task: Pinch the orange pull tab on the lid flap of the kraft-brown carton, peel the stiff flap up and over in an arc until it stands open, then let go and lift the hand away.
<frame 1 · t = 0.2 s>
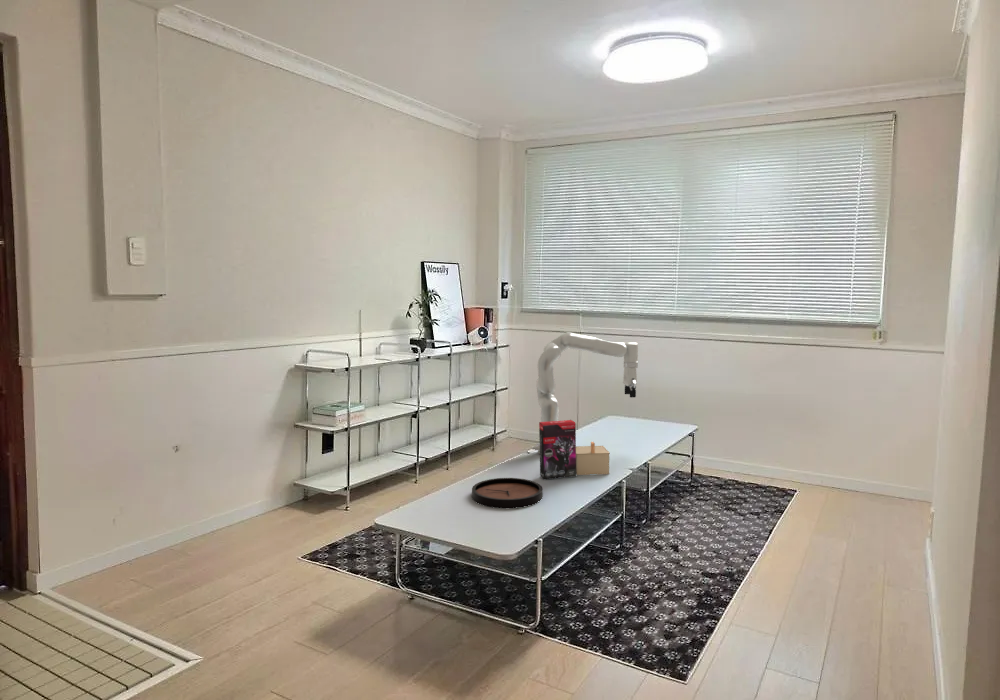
hand: (630, 395, 372), 31 cm above the table, tool pointing down, fingers open, 9 cm apart
graphics card box: (557, 477, 328), on the table
flap: (590, 445, 337), point 13 cm above the table, hinge at 0.0°
wall clock: (507, 497, 300), on the table
carton: (590, 470, 339), on the table
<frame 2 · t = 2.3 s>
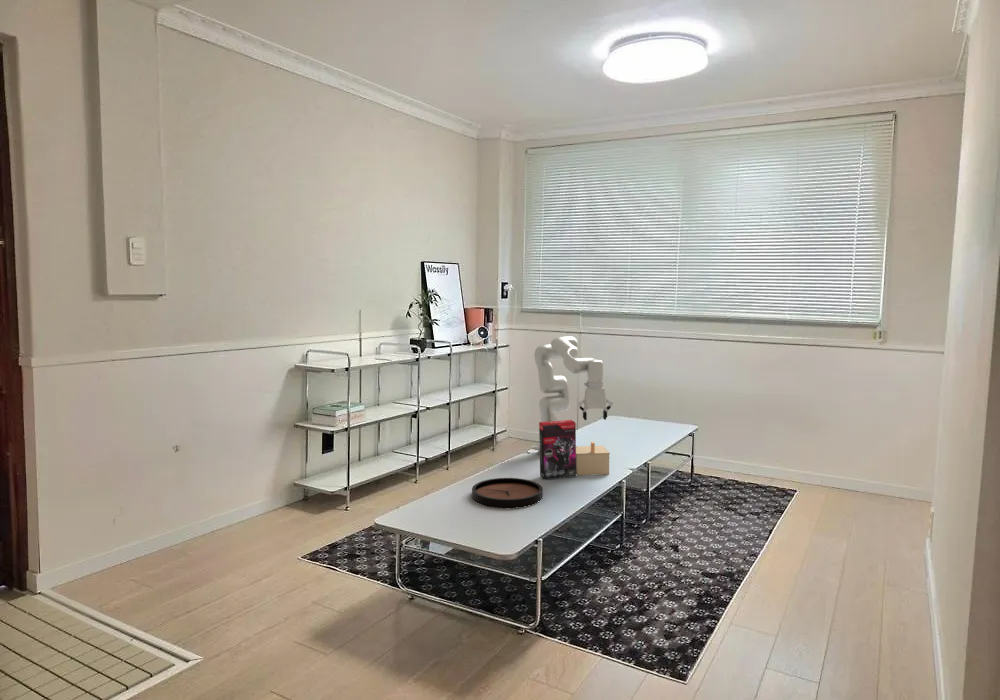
hand: (594, 419, 332), 27 cm above the table, tool pointing down, fingers open, 9 cm apart
nothing on the table moved.
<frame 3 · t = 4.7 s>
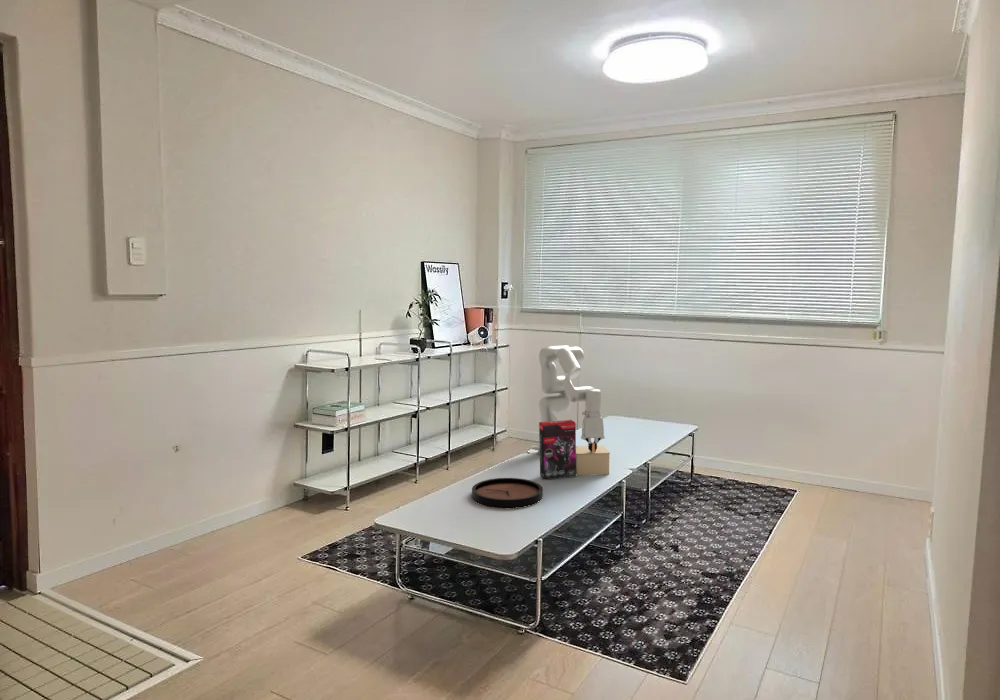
hand: (592, 450, 332), 12 cm above the table, tool pointing down, fingers closed
flap: (590, 445, 337), point 13 cm above the table, hinge at 0.0°, touching gripper
everything else where it was.
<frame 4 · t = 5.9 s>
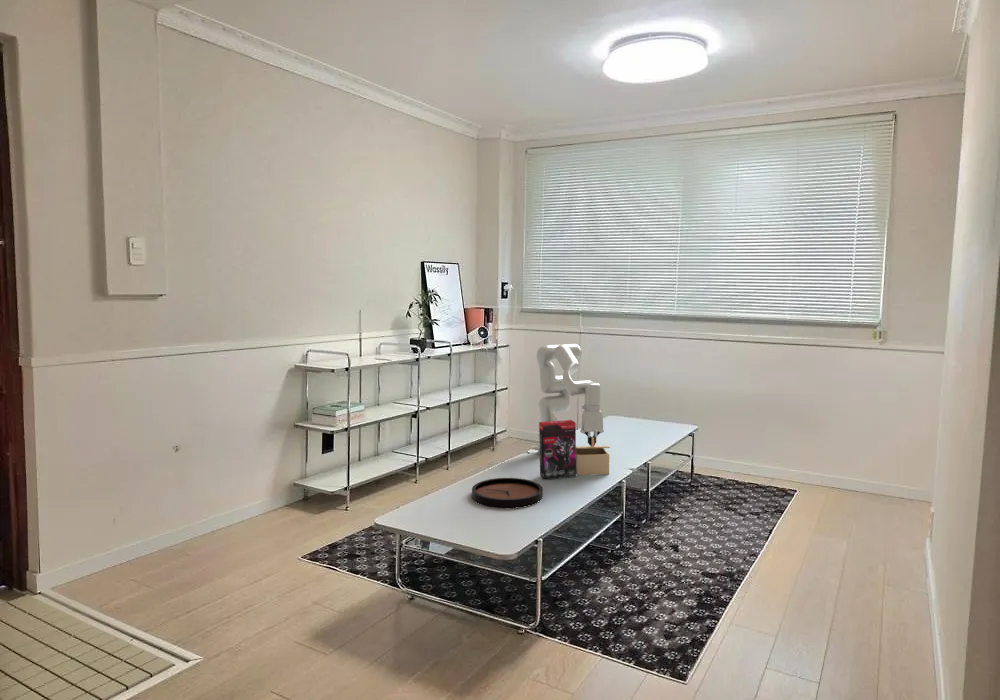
hand: (591, 444, 333), 14 cm above the table, tool pointing down, fingers closed
flap: (589, 442, 338), point 14 cm above the table, hinge at 12.2°, touching gripper
everything else where it was.
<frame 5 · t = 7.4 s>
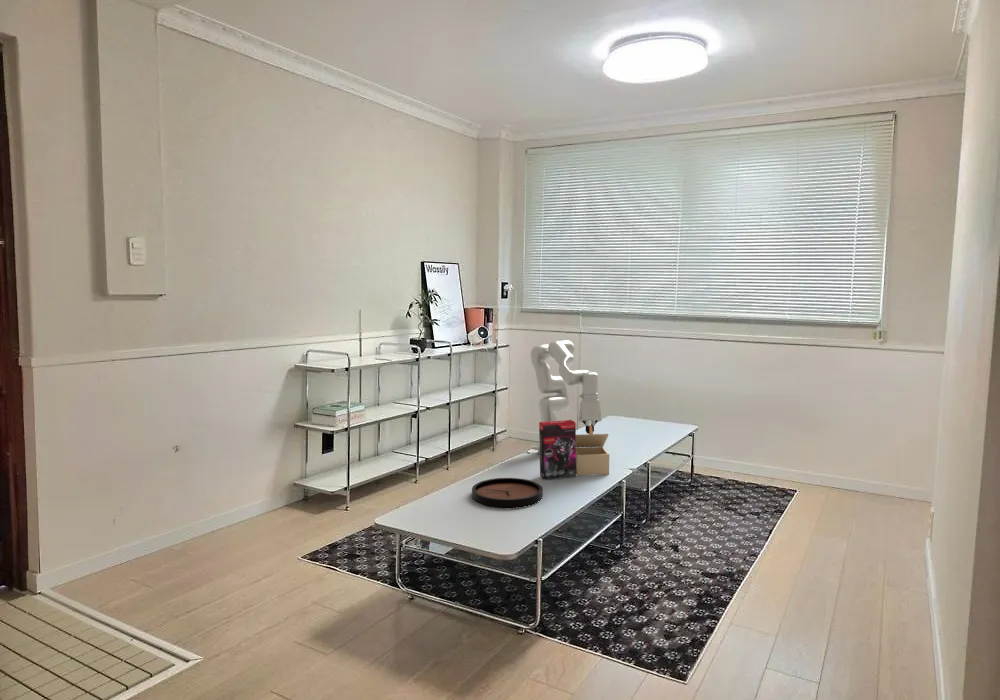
hand: (589, 433, 338), 19 cm above the table, tool pointing down, fingers closed
flap: (588, 436, 340), point 17 cm above the table, hinge at 39.0°, touching gripper
everything else where it was.
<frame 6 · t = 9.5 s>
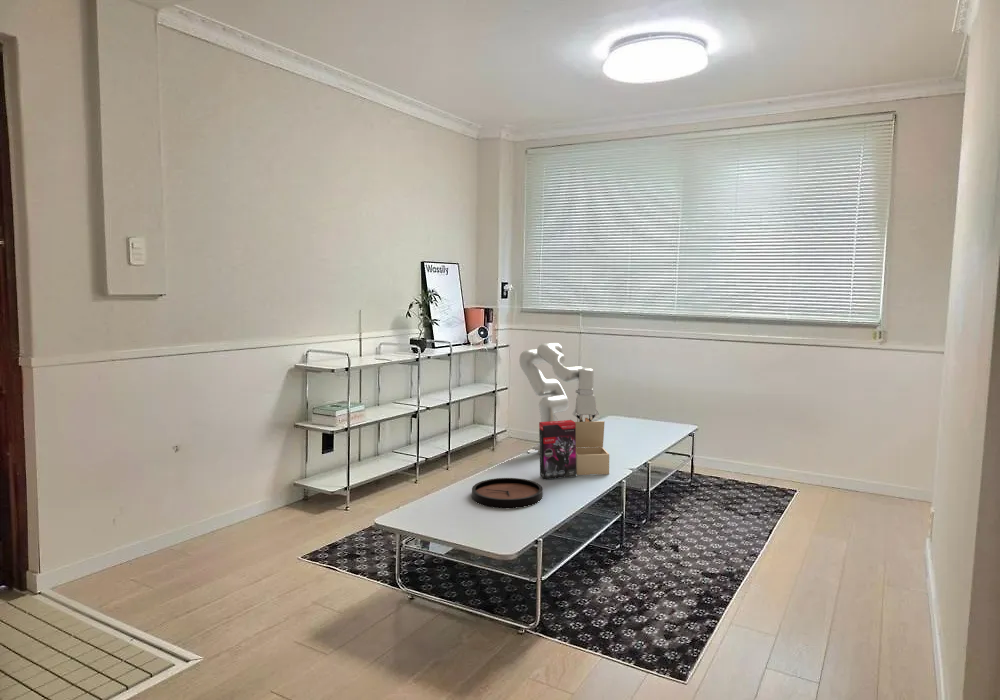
hand: (585, 427, 348), 20 cm above the table, tool pointing down, fingers open, 3 cm apart
flap: (586, 432, 345), point 17 cm above the table, hinge at 79.1°
everything else where it was.
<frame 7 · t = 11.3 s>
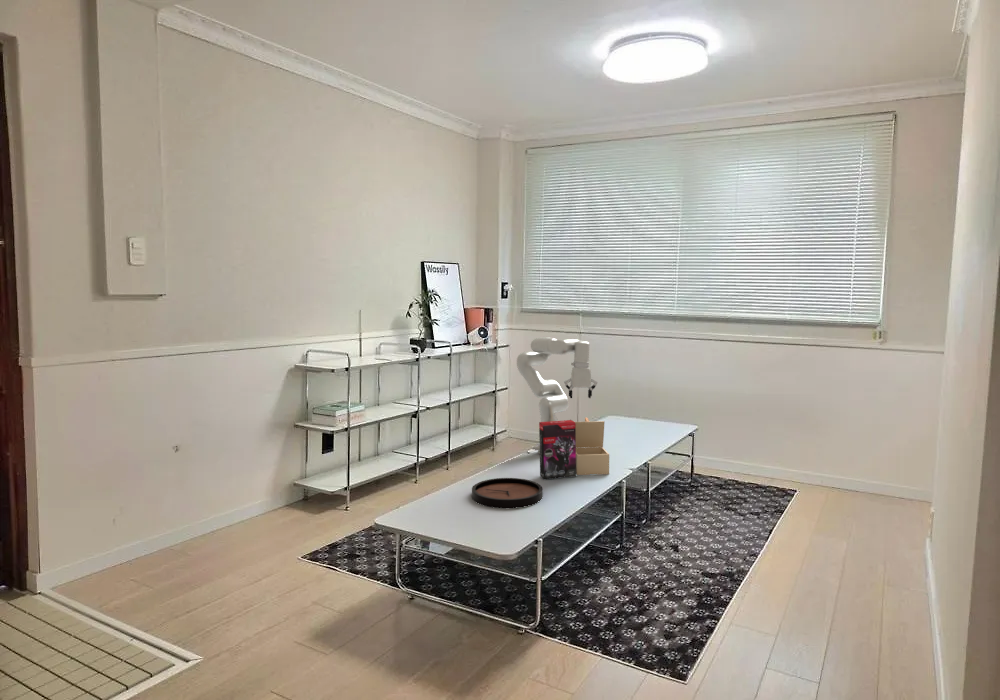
hand: (580, 397, 350), 34 cm above the table, tool pointing down, fingers open, 9 cm apart
nothing on the table moved.
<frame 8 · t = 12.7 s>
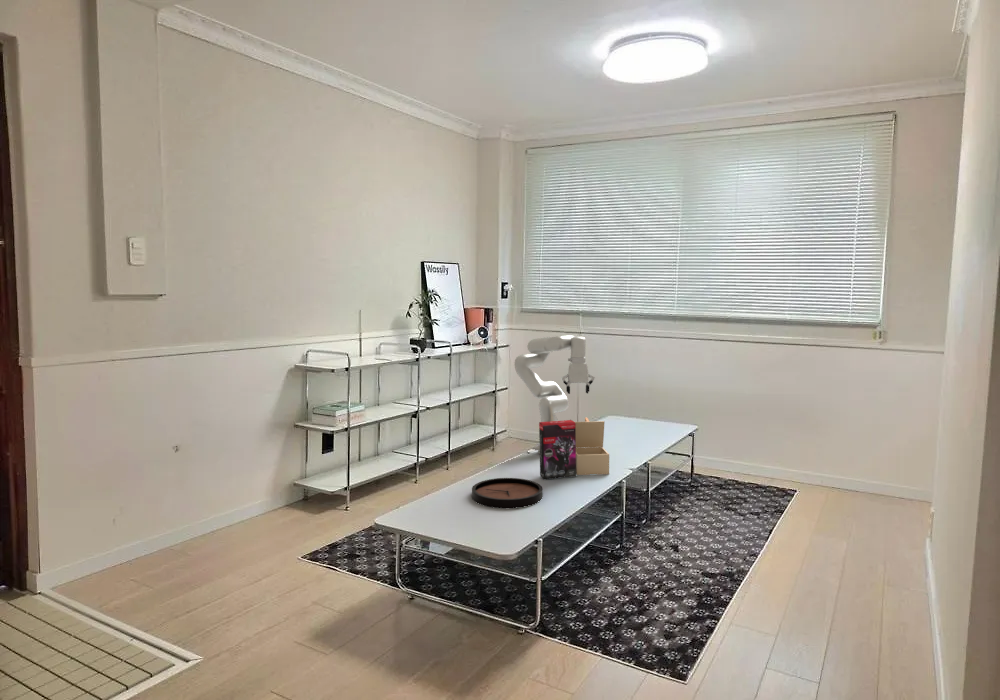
hand: (577, 393, 351), 36 cm above the table, tool pointing down, fingers open, 9 cm apart
nothing on the table moved.
at the end: flap at +79° (first picture: +0°); graphics card box moved 0.2 cm from its start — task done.
